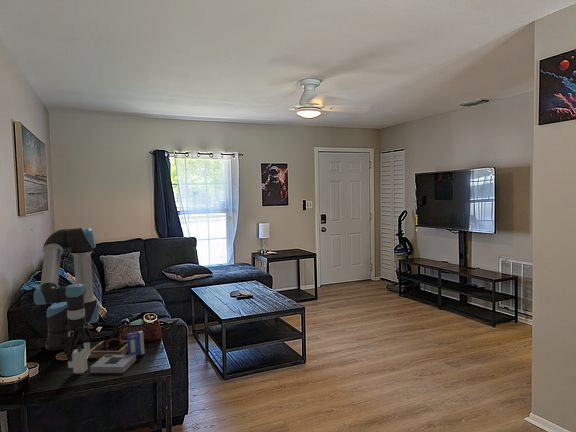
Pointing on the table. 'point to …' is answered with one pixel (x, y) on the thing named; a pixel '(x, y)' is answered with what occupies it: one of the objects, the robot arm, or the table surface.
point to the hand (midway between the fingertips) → (79, 361)
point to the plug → (80, 360)
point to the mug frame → (98, 353)
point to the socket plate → (113, 363)
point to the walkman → (135, 343)
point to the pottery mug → (113, 344)
